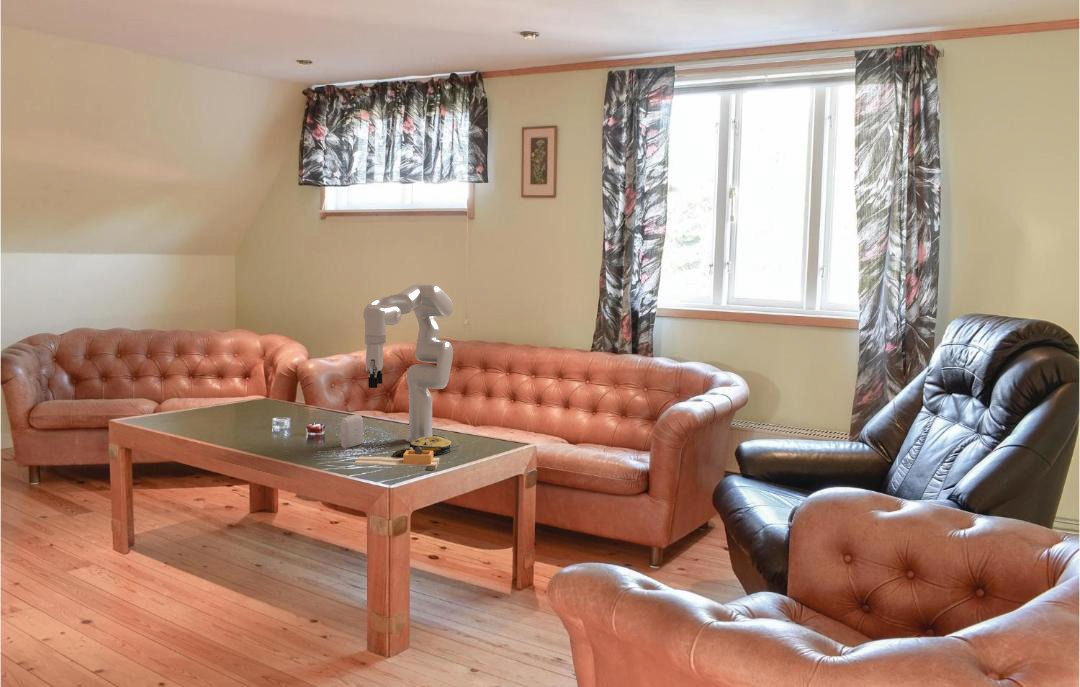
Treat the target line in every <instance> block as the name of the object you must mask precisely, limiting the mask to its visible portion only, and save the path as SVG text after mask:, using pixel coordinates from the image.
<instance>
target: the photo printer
mask: <svg viewBox="0 0 1080 687" xmlns="http://www.w3.org/2000/svg"><path fill="white" fill-rule="evenodd" d="M363 443H364V419H363V417H362V416H361V415H360V414H350V415H347V416H345V417H344V418H343V419H342V420H341V421H340V445H341V447H342V448H344V449H345V448H346V449H347V448H351V447H355V446H359V445H362V444H363Z"/></svg>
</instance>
